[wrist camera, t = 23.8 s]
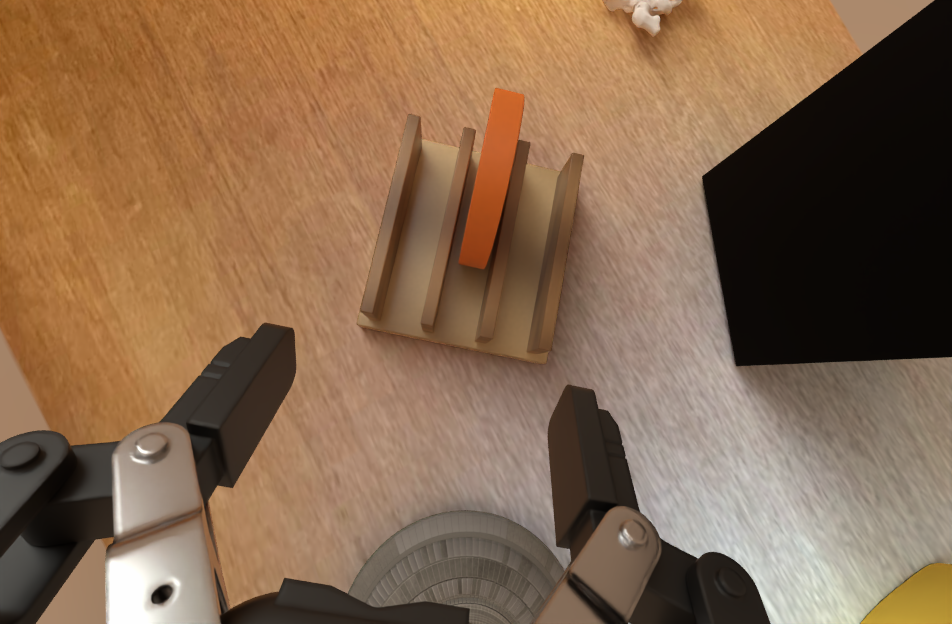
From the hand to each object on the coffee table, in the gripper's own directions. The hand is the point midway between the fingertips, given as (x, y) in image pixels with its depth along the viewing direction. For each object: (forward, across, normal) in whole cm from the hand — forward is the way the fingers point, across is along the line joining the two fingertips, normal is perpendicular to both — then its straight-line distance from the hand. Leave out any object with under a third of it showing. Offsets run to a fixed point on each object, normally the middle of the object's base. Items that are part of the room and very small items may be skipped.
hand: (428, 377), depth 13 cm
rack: (+19, -1, +6) cm, 20 cm away
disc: (+18, -1, +4) cm, 18 cm away
